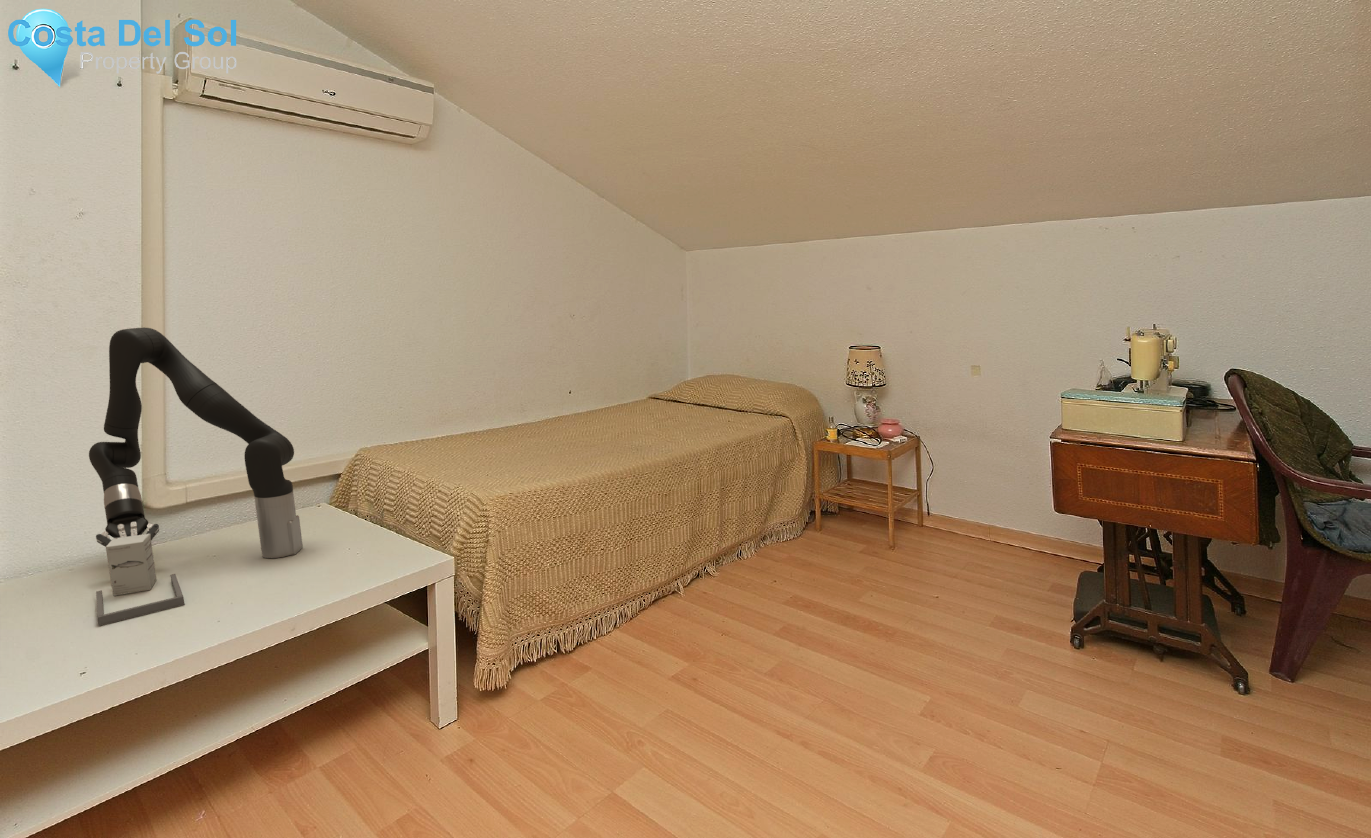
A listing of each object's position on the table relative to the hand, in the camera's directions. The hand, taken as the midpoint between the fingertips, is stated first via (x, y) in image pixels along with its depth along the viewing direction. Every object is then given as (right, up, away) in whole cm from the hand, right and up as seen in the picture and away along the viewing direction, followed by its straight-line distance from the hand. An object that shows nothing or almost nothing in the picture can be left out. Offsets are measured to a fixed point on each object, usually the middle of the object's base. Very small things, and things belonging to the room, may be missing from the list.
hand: (133, 562), depth 164 cm
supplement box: (+3, -6, -3) cm, 7 cm away
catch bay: (+11, -7, -11) cm, 17 cm away
